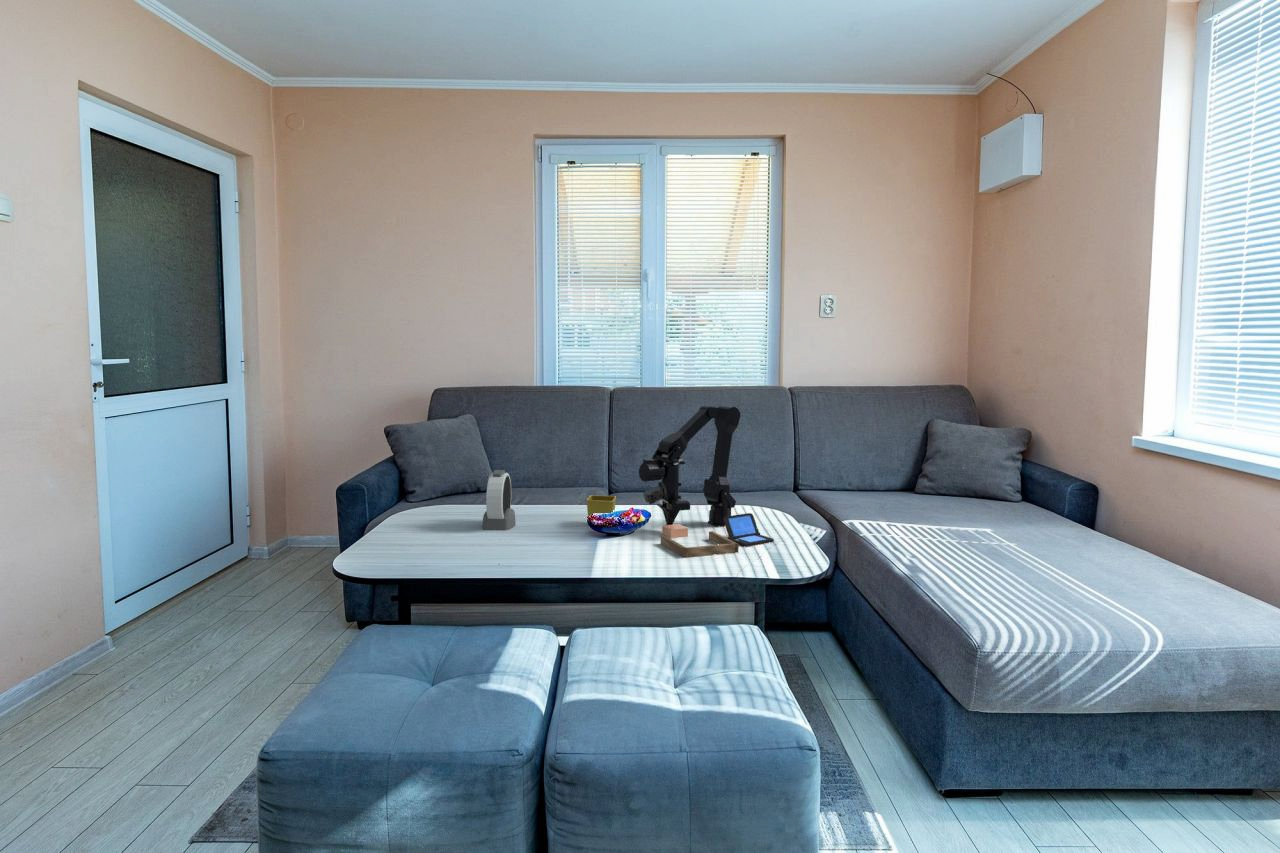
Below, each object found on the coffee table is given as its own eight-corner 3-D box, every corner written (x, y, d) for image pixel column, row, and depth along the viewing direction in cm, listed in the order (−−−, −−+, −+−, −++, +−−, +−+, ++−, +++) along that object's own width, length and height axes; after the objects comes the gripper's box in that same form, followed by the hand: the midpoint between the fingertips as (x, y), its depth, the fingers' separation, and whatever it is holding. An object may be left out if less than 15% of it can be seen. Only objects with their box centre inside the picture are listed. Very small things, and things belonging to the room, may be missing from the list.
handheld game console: (745, 548, 232) (746, 523, 231) (721, 540, 241) (721, 516, 240) (775, 542, 239) (776, 518, 238) (751, 535, 248) (751, 512, 247)
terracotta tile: (678, 533, 249) (679, 524, 249) (687, 537, 244) (688, 528, 243) (662, 534, 247) (662, 525, 246) (670, 539, 241) (671, 529, 241)
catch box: (712, 539, 241) (712, 531, 240) (738, 552, 226) (738, 543, 225) (660, 543, 234) (660, 535, 234) (684, 557, 219) (684, 548, 219)
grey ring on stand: (510, 532, 246) (510, 474, 244) (477, 531, 246) (477, 474, 244) (519, 520, 262) (519, 466, 260) (488, 519, 262) (488, 466, 260)
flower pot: (616, 522, 262) (616, 495, 261) (612, 528, 253) (613, 500, 252) (590, 521, 263) (590, 494, 262) (585, 527, 254) (586, 499, 253)
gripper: (635, 475, 253) (634, 522, 255) (658, 485, 236) (657, 535, 237) (667, 473, 257) (666, 520, 259) (691, 483, 240) (690, 533, 242)
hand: (669, 527), depth 249 cm, fingers closed
